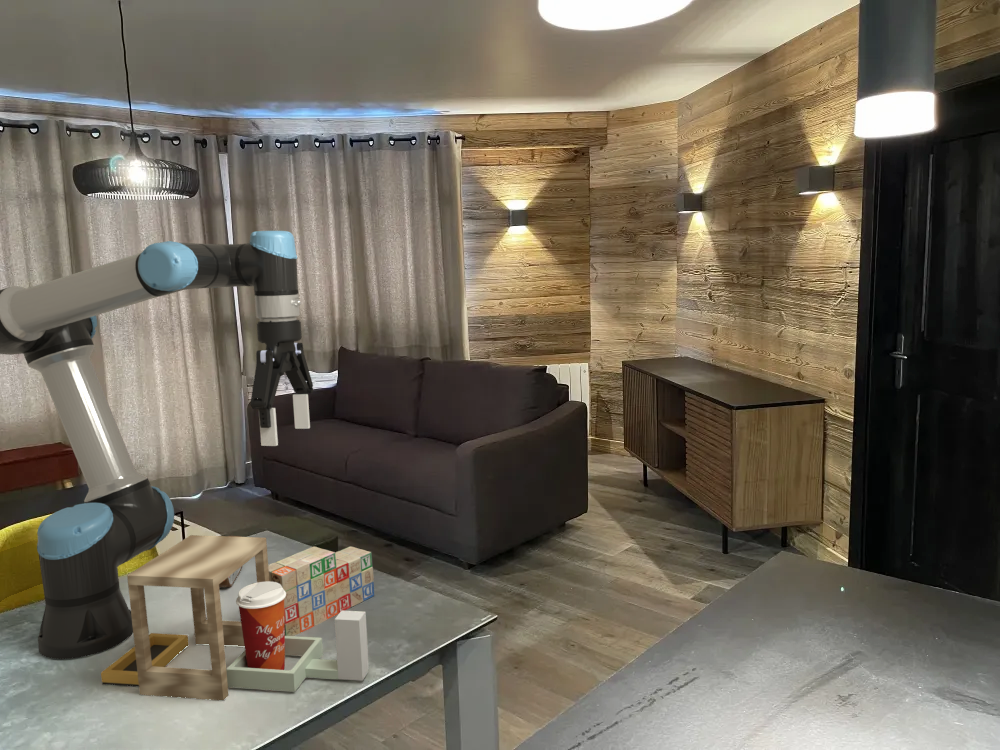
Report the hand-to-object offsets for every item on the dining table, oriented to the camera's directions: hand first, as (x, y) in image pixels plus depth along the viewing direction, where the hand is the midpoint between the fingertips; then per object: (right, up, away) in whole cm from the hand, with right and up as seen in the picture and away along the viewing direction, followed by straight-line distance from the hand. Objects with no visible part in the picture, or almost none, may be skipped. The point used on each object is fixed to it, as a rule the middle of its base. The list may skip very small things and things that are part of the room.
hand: (286, 436), depth 135 cm
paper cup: (+1, -37, -14) cm, 40 cm away
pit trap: (-20, -37, -11) cm, 44 cm away
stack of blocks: (+5, -34, +7) cm, 35 cm away
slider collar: (+7, -37, -15) cm, 40 cm away
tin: (-18, -33, +23) cm, 44 cm away
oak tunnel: (-9, -37, -12) cm, 40 cm away
